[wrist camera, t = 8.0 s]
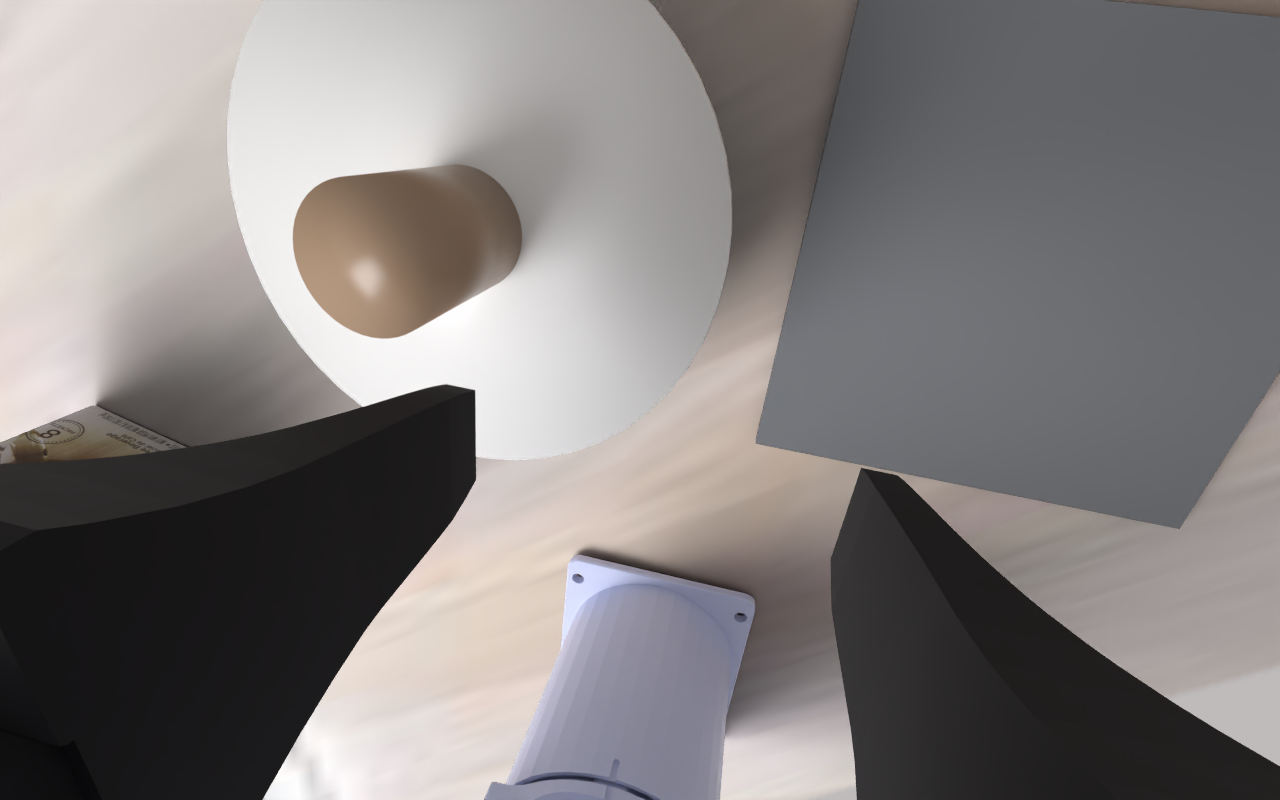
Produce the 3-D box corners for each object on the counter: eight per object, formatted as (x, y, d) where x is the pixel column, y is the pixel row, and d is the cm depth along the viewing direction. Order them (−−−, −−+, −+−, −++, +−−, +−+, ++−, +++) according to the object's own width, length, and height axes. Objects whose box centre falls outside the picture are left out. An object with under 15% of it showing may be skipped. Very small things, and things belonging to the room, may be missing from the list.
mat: (1172, 521, 20) (1179, 528, 20) (756, 438, 22) (755, 443, 21) (1473, 40, 14) (1491, 38, 14) (863, -20, 16) (865, -24, 15)
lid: (688, 486, 17) (660, 603, 13) (287, 401, 19) (147, 480, 15) (788, -62, 12) (797, -171, 7) (208, -114, 13) (-56, -227, 9)
